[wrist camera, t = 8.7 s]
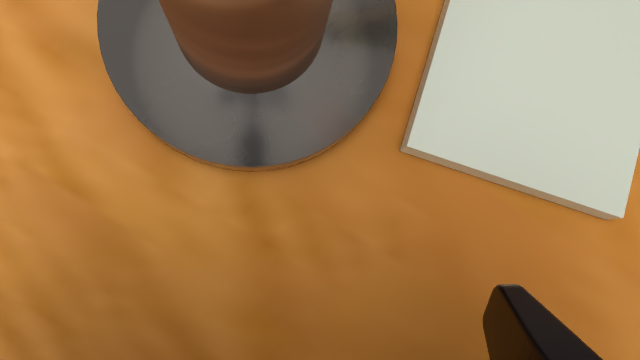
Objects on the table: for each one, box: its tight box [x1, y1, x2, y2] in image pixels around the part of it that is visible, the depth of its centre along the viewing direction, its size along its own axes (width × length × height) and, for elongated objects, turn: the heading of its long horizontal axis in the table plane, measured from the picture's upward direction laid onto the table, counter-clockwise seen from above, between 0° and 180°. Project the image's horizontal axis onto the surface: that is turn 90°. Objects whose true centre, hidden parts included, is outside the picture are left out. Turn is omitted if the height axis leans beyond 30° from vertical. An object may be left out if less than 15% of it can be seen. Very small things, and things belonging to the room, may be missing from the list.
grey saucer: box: [97, 0, 397, 171], centre depth 19 cm, size 10×10×1 cm
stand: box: [400, 0, 640, 220], centre depth 20 cm, size 8×8×1 cm
